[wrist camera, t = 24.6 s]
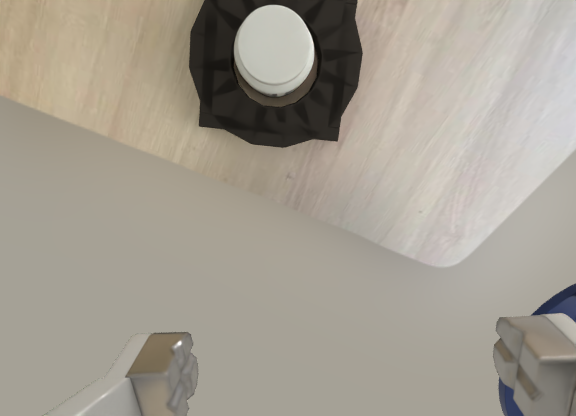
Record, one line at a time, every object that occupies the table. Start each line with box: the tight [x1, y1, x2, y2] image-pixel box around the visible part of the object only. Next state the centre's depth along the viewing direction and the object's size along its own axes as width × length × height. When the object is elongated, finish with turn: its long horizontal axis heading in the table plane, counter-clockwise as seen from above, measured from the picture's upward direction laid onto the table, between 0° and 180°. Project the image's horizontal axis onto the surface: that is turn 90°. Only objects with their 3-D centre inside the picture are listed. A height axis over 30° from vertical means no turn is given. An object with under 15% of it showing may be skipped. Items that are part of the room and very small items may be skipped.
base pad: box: [189, 0, 363, 148], centre depth 32 cm, size 14×14×2 cm
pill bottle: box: [234, 5, 314, 97], centre depth 28 cm, size 6×6×10 cm
